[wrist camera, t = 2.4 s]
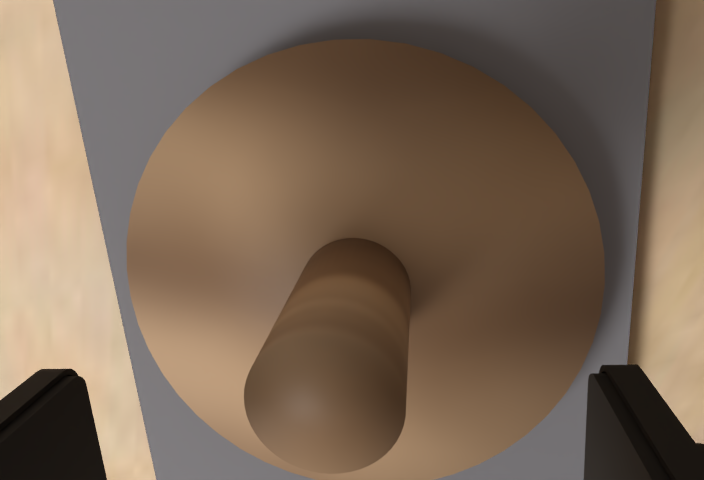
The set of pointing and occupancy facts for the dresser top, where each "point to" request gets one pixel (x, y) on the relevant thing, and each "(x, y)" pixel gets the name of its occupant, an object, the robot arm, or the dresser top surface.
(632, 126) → the mat
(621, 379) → the robot arm
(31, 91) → the dresser top surface
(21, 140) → the dresser top surface
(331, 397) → the lid
